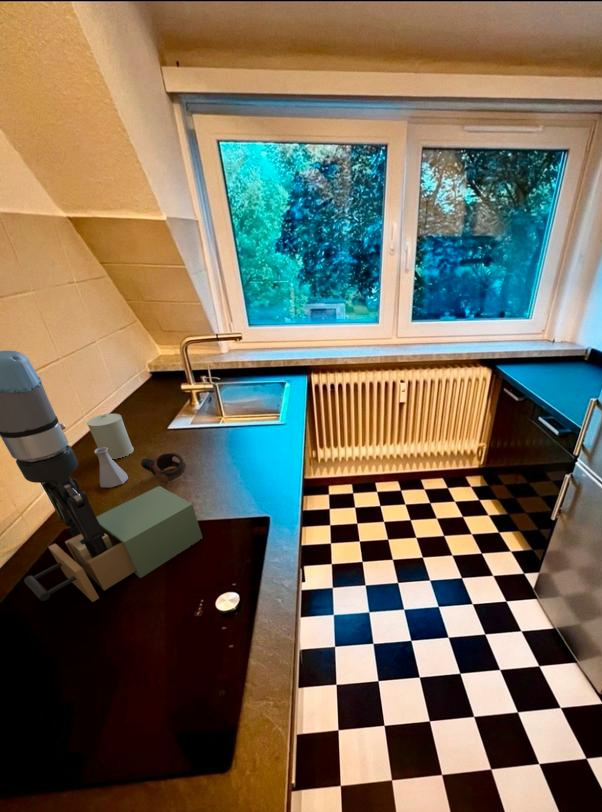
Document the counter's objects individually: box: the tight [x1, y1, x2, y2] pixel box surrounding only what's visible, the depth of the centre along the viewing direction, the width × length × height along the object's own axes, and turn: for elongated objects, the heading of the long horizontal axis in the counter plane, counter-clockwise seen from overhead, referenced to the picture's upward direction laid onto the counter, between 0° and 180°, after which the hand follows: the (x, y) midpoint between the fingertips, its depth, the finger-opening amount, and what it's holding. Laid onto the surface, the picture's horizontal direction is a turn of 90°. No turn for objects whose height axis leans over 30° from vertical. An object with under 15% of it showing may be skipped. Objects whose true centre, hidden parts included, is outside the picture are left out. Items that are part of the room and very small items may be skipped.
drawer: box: [23, 527, 136, 603], centre depth 75 cm, size 19×11×8 cm, turn 145°
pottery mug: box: [140, 451, 188, 485], centre depth 108 cm, size 12×10×8 cm
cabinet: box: [96, 485, 204, 579], centre depth 83 cm, size 15×13×10 cm
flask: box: [94, 447, 129, 488], centre depth 105 cm, size 7×7×10 cm
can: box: [86, 413, 135, 460], centre depth 119 cm, size 9×9×12 cm
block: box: [67, 533, 113, 570], centre depth 74 cm, size 5×5×5 cm
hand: (97, 556), depth 75 cm, fingers closed on block, 5 cm apart
